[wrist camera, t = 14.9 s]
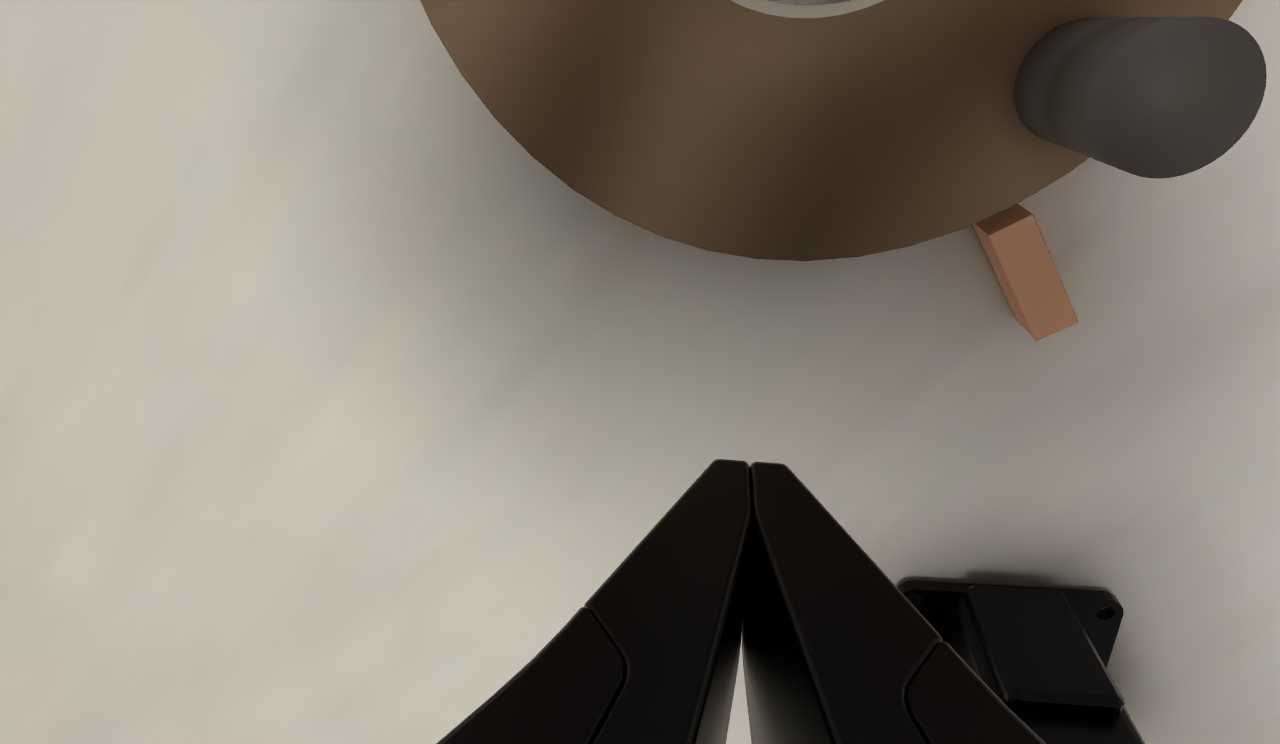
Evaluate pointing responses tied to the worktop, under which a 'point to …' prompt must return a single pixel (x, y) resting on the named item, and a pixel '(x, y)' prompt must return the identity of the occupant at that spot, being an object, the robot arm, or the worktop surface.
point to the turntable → (850, 106)
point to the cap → (807, 2)
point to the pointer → (1026, 271)
